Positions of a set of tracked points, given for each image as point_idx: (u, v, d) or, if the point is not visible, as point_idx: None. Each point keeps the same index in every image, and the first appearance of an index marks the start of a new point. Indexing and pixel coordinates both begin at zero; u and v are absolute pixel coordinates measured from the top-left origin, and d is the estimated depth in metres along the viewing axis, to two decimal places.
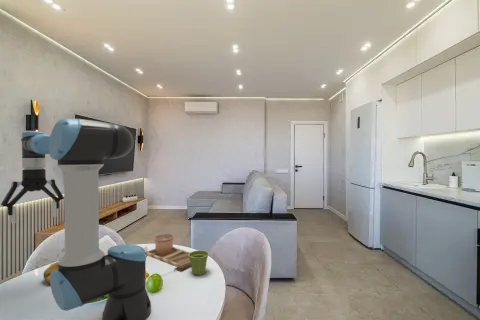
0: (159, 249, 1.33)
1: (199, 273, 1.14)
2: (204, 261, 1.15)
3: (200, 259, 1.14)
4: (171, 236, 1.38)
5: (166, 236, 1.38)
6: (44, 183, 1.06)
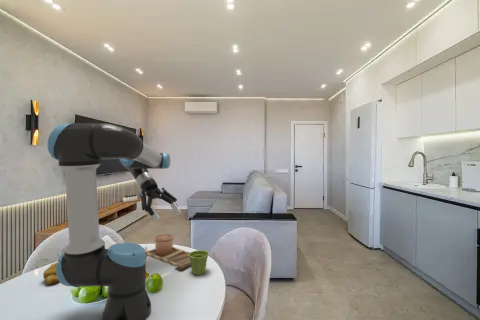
0: (159, 249, 1.33)
1: (199, 273, 1.14)
2: (204, 261, 1.15)
3: (200, 259, 1.14)
4: (171, 236, 1.38)
5: (166, 236, 1.38)
6: (159, 190, 1.26)
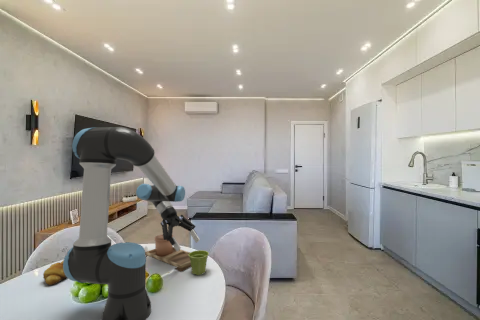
0: (159, 249, 1.33)
1: (199, 273, 1.14)
2: (204, 261, 1.15)
3: (200, 259, 1.14)
4: None
5: None
6: (178, 218, 1.30)
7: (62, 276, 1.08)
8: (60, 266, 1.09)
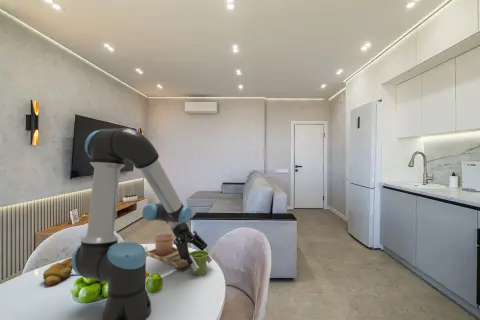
0: (159, 249, 1.33)
1: (199, 273, 1.14)
2: (204, 261, 1.15)
3: (200, 259, 1.14)
4: (171, 236, 1.38)
5: (166, 236, 1.38)
6: (190, 234, 1.24)
7: (62, 277, 1.08)
8: (60, 266, 1.09)
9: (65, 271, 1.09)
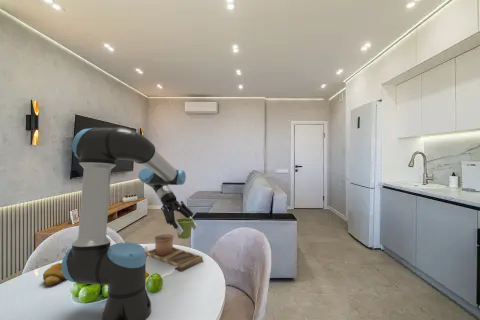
0: (159, 249, 1.33)
1: (184, 237, 1.24)
2: (189, 226, 1.25)
3: (185, 224, 1.23)
4: (171, 236, 1.38)
5: (166, 236, 1.38)
6: (177, 203, 1.33)
7: (61, 277, 1.07)
8: (60, 267, 1.08)
9: None
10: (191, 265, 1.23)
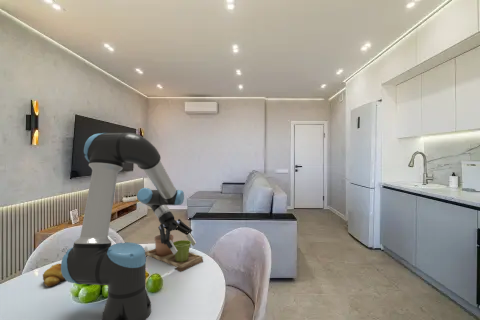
0: (159, 249, 1.33)
1: (182, 260, 1.25)
2: (186, 249, 1.26)
3: (182, 247, 1.24)
4: (171, 236, 1.38)
5: None
6: (176, 222, 1.35)
7: (61, 278, 1.07)
8: (59, 268, 1.08)
9: None
10: (191, 265, 1.23)
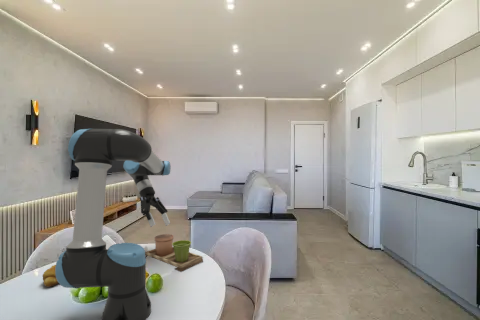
0: (159, 249, 1.33)
1: (182, 260, 1.25)
2: (186, 249, 1.26)
3: (182, 247, 1.24)
4: (171, 236, 1.38)
5: (166, 236, 1.38)
6: None
7: None
8: None
9: None
10: (191, 265, 1.23)
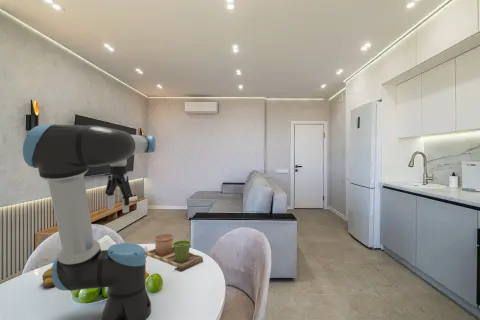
0: (159, 249, 1.33)
1: (182, 260, 1.25)
2: (186, 249, 1.26)
3: (182, 247, 1.24)
4: (171, 236, 1.38)
5: (166, 236, 1.38)
6: None
7: None
8: None
9: None
10: (191, 265, 1.23)
